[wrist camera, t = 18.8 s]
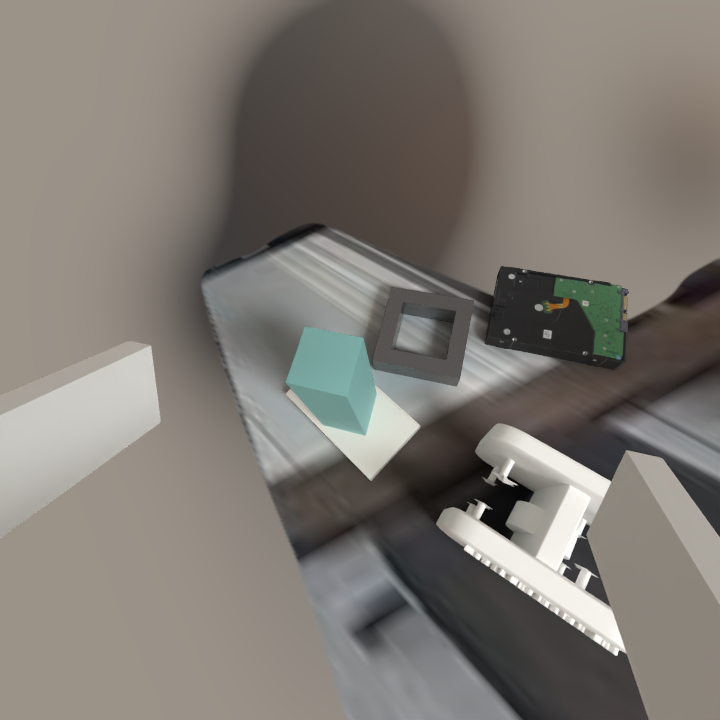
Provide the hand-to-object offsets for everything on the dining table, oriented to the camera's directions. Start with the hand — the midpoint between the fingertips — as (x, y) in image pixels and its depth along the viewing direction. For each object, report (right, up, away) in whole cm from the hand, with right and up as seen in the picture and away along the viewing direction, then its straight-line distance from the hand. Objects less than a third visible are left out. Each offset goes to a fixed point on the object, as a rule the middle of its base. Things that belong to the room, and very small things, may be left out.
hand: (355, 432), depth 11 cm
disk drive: (+24, +7, +37) cm, 45 cm away
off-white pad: (-1, -4, +35) cm, 35 cm away
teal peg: (-1, -4, +34) cm, 34 cm away
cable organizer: (+16, -15, +29) cm, 36 cm away
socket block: (+8, +4, +37) cm, 39 cm away
